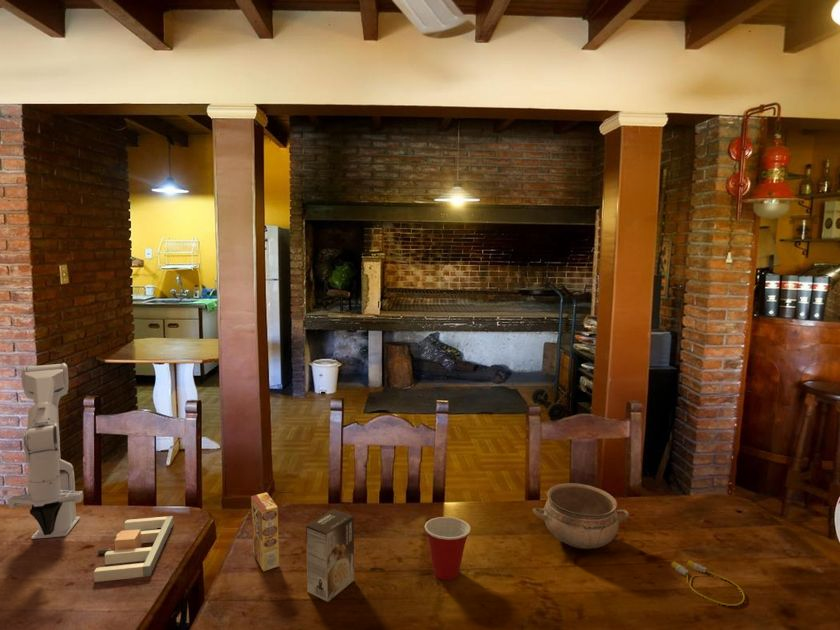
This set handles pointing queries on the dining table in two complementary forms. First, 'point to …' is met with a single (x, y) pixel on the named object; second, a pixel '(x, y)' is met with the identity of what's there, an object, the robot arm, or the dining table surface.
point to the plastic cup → (446, 545)
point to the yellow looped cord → (702, 569)
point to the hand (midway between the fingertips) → (49, 532)
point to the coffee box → (330, 554)
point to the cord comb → (137, 551)
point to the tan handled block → (126, 541)
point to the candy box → (265, 531)
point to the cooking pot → (581, 515)
